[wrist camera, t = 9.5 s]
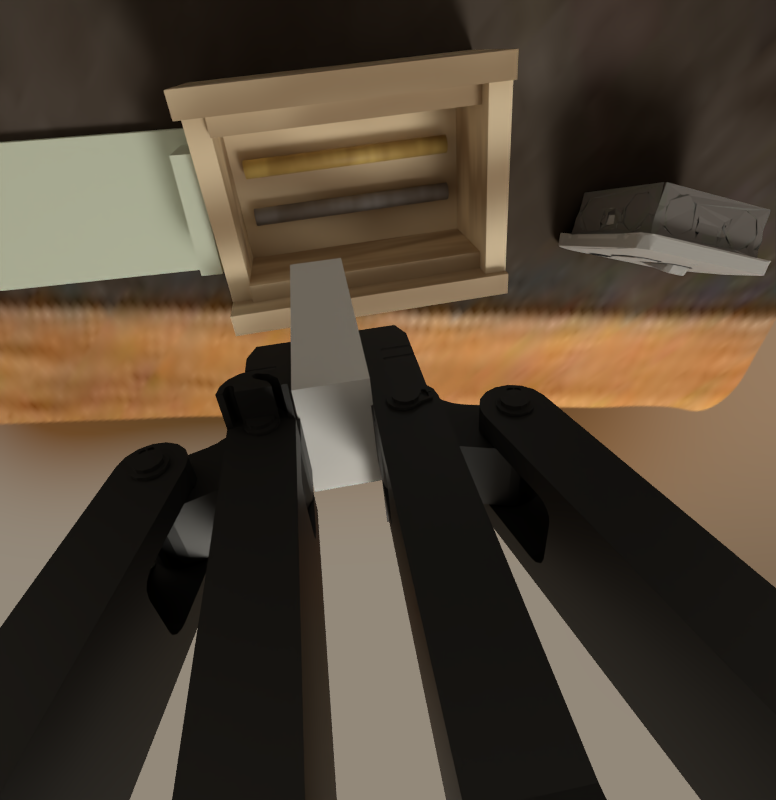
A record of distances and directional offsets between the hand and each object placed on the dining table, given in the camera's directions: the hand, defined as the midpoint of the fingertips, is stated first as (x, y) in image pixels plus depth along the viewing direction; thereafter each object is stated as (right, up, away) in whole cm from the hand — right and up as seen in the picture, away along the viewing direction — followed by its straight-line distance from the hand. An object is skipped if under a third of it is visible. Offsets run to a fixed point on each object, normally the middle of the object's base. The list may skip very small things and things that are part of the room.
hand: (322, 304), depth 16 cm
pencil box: (-1, +11, +16) cm, 20 cm away
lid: (-16, +9, +15) cm, 23 cm away
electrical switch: (+19, +10, +21) cm, 30 cm away
